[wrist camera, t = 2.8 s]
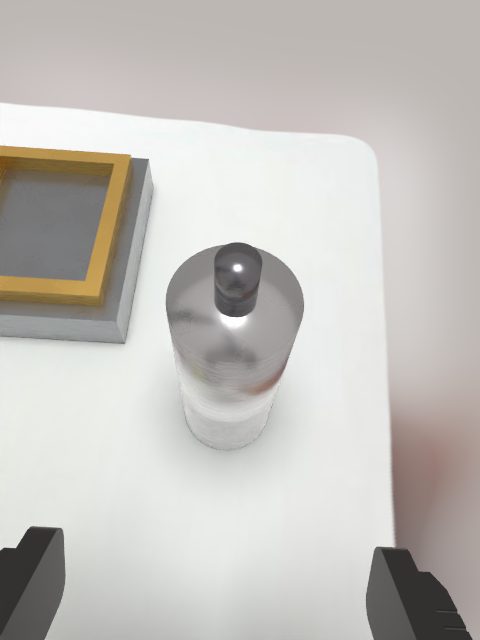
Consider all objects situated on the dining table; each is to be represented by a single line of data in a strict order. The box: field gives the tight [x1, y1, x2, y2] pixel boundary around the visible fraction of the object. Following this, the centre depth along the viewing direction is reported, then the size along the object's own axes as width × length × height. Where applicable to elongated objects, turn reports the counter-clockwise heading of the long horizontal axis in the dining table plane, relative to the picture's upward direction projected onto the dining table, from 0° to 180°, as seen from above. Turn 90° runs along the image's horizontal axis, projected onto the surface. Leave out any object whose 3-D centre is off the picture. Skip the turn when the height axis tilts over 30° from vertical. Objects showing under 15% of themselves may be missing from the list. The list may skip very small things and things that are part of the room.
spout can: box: [166, 243, 304, 450], centre depth 22 cm, size 5×5×15 cm
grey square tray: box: [0, 146, 153, 343], centre depth 32 cm, size 12×14×4 cm
